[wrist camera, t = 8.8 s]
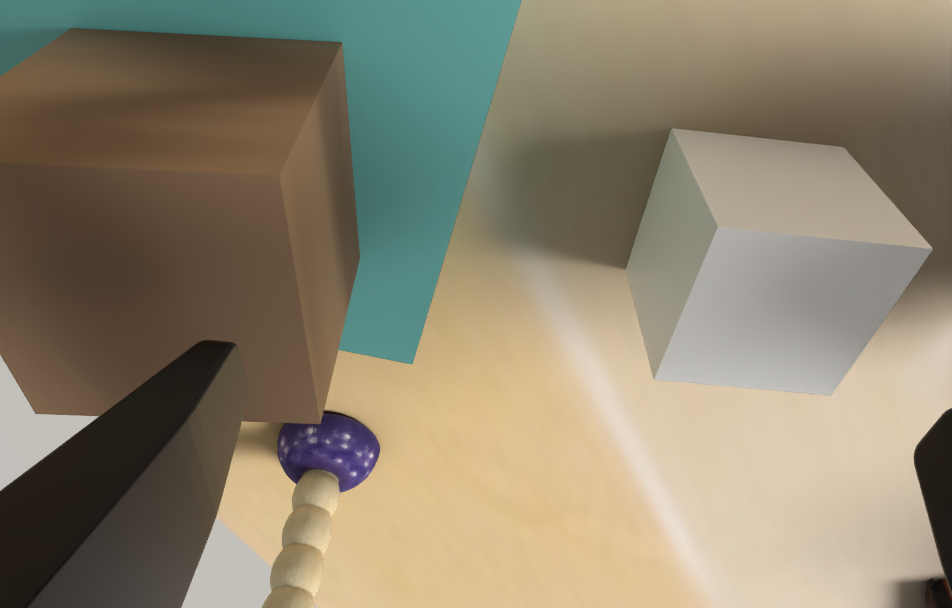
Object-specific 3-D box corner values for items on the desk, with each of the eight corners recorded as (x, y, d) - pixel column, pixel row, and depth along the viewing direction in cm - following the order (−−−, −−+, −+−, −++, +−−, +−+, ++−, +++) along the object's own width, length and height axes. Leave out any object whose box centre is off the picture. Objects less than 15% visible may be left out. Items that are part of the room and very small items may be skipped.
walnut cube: (342, 42, 12) (279, 175, 8) (360, 257, 15) (320, 423, 12) (71, 27, 12) (-118, 157, 8) (146, 248, 15) (35, 413, 12)
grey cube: (842, 146, 19) (932, 249, 15) (772, 282, 22) (830, 395, 18) (670, 126, 18) (718, 226, 14) (625, 267, 21) (653, 379, 18)
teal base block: (517, -77, 15) (527, -19, 11) (425, 255, 22) (412, 364, 18) (62, -221, 14) (-102, -209, 10) (107, 183, 20) (17, 285, 16)
